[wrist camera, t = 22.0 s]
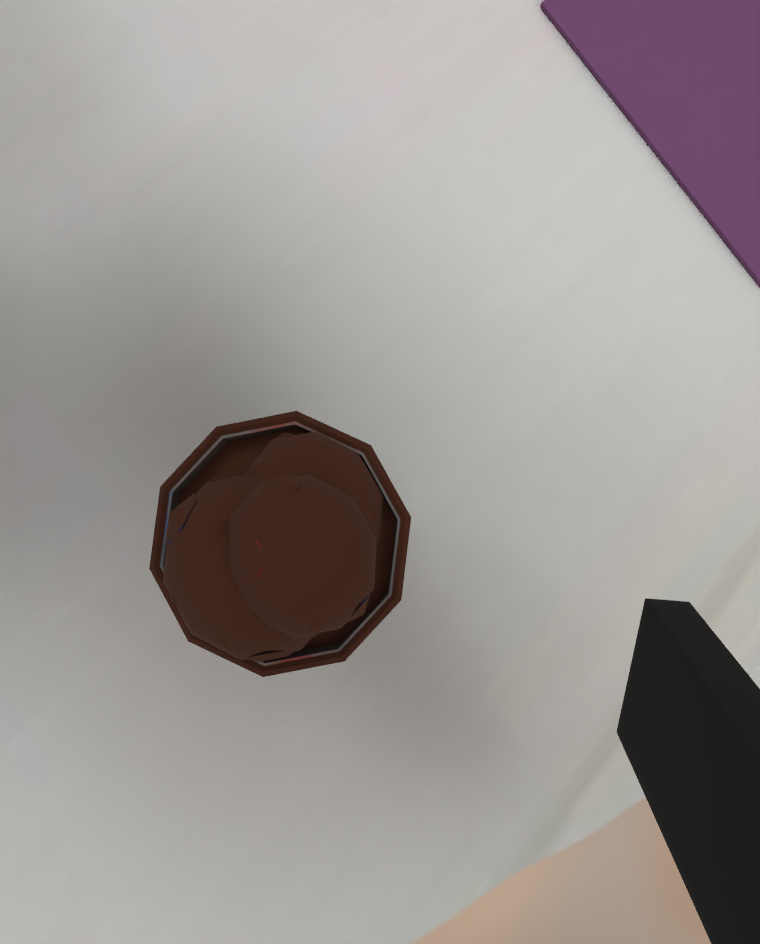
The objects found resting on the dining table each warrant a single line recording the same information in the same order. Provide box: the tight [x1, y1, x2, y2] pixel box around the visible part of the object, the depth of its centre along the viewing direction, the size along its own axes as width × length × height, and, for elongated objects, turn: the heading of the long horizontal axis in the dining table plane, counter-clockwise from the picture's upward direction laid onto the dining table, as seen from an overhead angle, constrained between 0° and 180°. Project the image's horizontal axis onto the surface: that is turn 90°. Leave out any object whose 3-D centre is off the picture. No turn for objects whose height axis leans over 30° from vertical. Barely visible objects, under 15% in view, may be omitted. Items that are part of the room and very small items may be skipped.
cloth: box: [540, 0, 760, 287], centre depth 40 cm, size 20×14×1 cm
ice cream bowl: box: [149, 411, 411, 677], centre depth 32 cm, size 11×11×15 cm
